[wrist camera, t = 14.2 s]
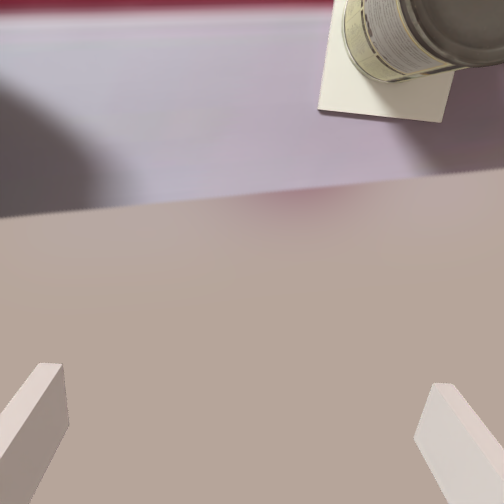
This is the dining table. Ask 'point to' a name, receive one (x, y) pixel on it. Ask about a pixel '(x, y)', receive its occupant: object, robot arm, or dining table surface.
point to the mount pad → (376, 85)
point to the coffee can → (422, 36)
